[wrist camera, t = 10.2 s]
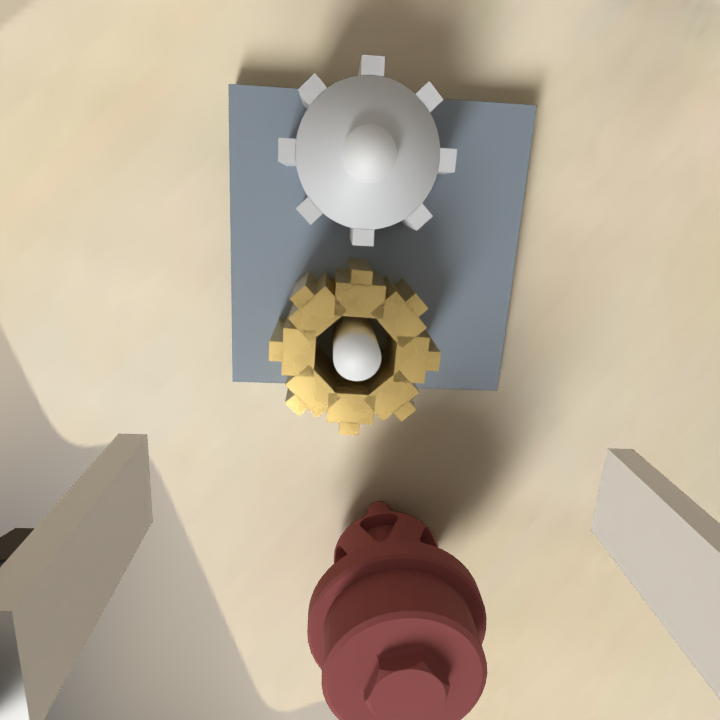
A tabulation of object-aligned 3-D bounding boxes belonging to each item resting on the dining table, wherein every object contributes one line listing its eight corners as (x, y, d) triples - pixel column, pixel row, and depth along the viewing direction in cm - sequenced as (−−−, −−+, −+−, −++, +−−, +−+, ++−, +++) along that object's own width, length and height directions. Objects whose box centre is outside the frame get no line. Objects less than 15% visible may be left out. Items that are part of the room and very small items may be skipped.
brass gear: (432, 263, 31) (450, 277, 26) (415, 403, 33) (429, 438, 29) (281, 252, 30) (272, 263, 25) (275, 395, 33) (266, 430, 28)
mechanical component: (327, 612, 39) (298, 493, 36) (463, 586, 39) (445, 465, 36) (326, 791, 28) (282, 637, 25) (520, 755, 28) (499, 596, 25)
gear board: (529, 93, 30) (586, 65, 23) (490, 382, 35) (528, 428, 28) (233, 72, 29) (203, 36, 22) (236, 373, 34) (213, 418, 27)
